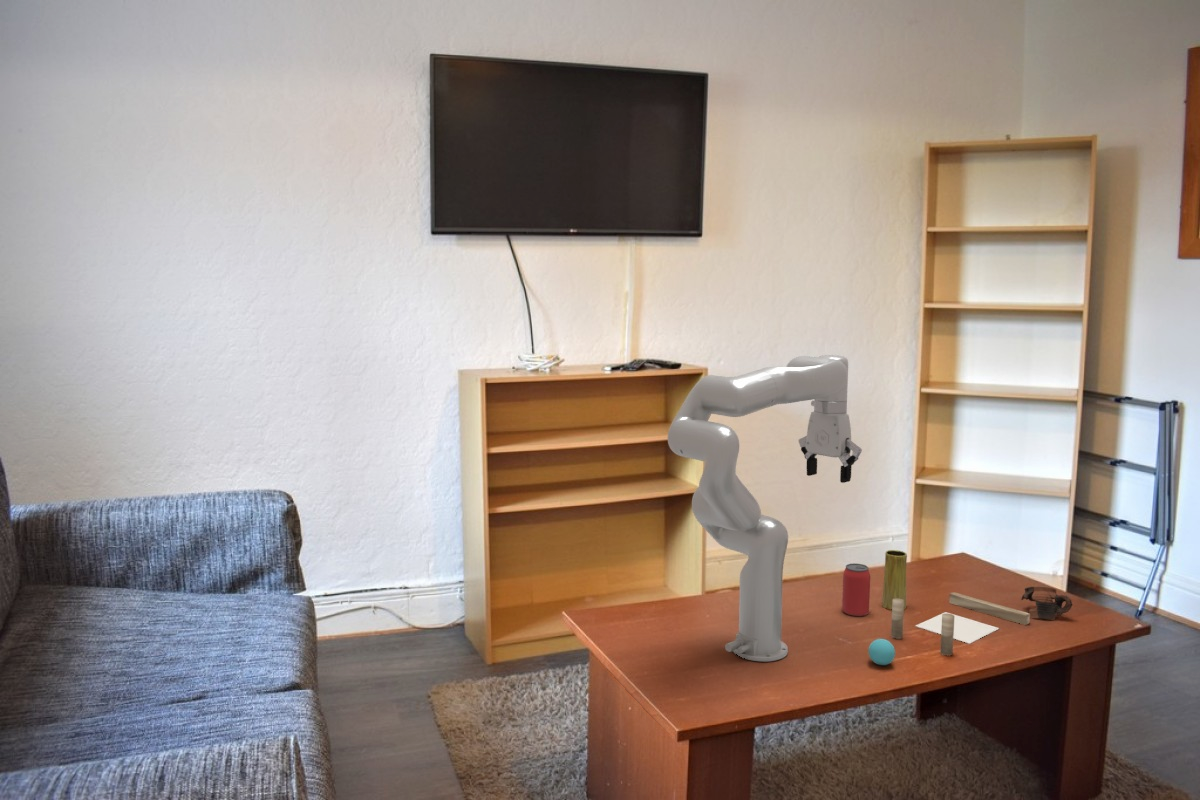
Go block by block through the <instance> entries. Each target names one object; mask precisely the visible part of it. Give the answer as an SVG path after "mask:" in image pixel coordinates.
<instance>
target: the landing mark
mask: <svg viewBox="0 0 1200 800" xmlns="http://www.w3.org/2000/svg"><path fill="white" fill-rule="evenodd" d="M945 613H947V614H952V615H954V616H955V617H954V636H953V640H955V639H956V641H959V642H961V641H962V643H964V642H965V644H968V645H971V644H972V643H975V642H977V641H979V640H980V638H981V639H982V637H983V638H985V637H986V635H987V636H988V635H990V634H993V633H994V632H995V631H998V630H1000V628H999V627H997V626H993V625H990V624H987V623H983V622H980V621H976V620H974V619H971V618H967V617H963V616H960V615H957V614H953V613H952V612H951V613H950V612H946V611H945V612H942V613H941V614H938V615H935V616H934V617H932V618H931V617H930V619H927V620H925V621H923V622H920V623H918V624H916V625H915V626H914V627H916V628H919V629H922V630H924V629H925V631H928V632H931V633H934V634H937V633H938V634H937V635H940V634H941V629H942V614H945ZM984 636H985V637H984Z"/></svg>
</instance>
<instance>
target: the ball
mask: <svg viewBox="0 0 1200 800" xmlns="http://www.w3.org/2000/svg"><path fill="white" fill-rule="evenodd" d="M868 656H869V658H870V659H871V661H872V662H873V663H875V664H876V665H879V666H887V665H889V664H891V663H892V662H893V661H894V659H895V657H896V650H895V647H894V645H893V644H892V642H890V641H889V640H888V639H884V638H877V639H874V640H873V641H872V642H871V643H870V645H869V647H868Z"/></svg>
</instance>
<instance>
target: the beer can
mask: <svg viewBox="0 0 1200 800" xmlns="http://www.w3.org/2000/svg"><path fill="white" fill-rule="evenodd" d="M869 569H870V568H869V567H868V566H867V565H866V564H862V563H854V562H853V563H848V564H846V565H845V568H844V570H843V575H842V600H841V601H842V604H841V605H842V606H841V610H842V612H843V613H845V614H846V615H849V616H853V617H864V616H866V615H868V614H869V612H870V599H871V597H870V595H871V593H870V592H871V591H870V590H871V573H870V571H869Z"/></svg>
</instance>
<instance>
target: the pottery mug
mask: <svg viewBox="0 0 1200 800" xmlns="http://www.w3.org/2000/svg"><path fill="white" fill-rule="evenodd" d="M1024 599H1025V600H1026V601H1027V600H1028V601H1030V602H1035V605H1036V608H1031V609H1029V610H1028V612H1029V614H1030V617H1031V619H1043V620H1047V621H1048V620H1049V621H1055V620H1056V617H1061V616H1062V615H1063V614H1067V612H1069V611H1070V610H1071V609H1072V606H1073V601H1072V598H1070V597H1069V596H1067V595H1063V594H1062V595H1061V594H1060V595H1058V594H1057V589H1055V588H1054V587H1048V586H1029V587H1025V588H1024V594H1022V597H1021V599H1020V600H1022V601H1023V600H1024ZM1053 600H1054V601H1053ZM1064 602H1065V605H1064V606H1063V603H1064Z"/></svg>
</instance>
